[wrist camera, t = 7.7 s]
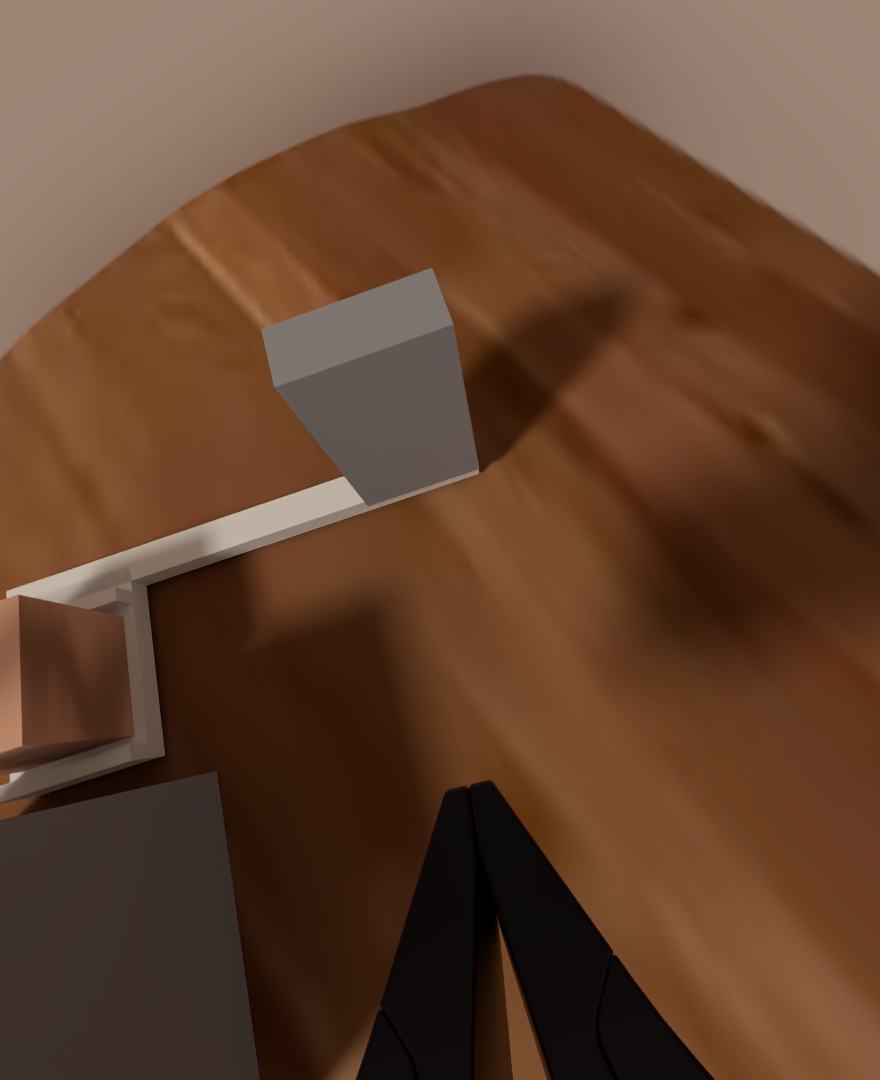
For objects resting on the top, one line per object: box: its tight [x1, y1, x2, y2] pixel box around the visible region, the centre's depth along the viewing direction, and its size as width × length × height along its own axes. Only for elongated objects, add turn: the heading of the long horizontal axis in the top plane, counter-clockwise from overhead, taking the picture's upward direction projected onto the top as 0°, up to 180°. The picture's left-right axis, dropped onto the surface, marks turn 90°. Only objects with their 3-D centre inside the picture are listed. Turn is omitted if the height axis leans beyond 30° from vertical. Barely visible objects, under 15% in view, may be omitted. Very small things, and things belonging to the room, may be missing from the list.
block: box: [0, 595, 135, 775], centre depth 20 cm, size 5×5×5 cm
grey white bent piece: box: [0, 268, 479, 804], centre depth 18 cm, size 9×22×10 cm, turn 107°
